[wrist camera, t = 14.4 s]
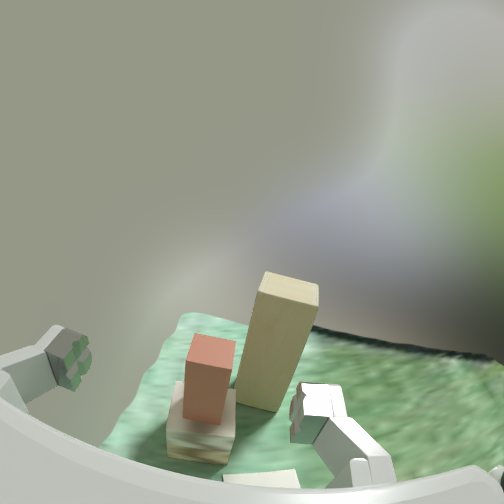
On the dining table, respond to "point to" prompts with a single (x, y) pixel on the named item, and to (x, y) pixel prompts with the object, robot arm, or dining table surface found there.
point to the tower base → (200, 432)
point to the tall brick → (207, 378)
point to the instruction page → (266, 479)
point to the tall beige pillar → (275, 340)
